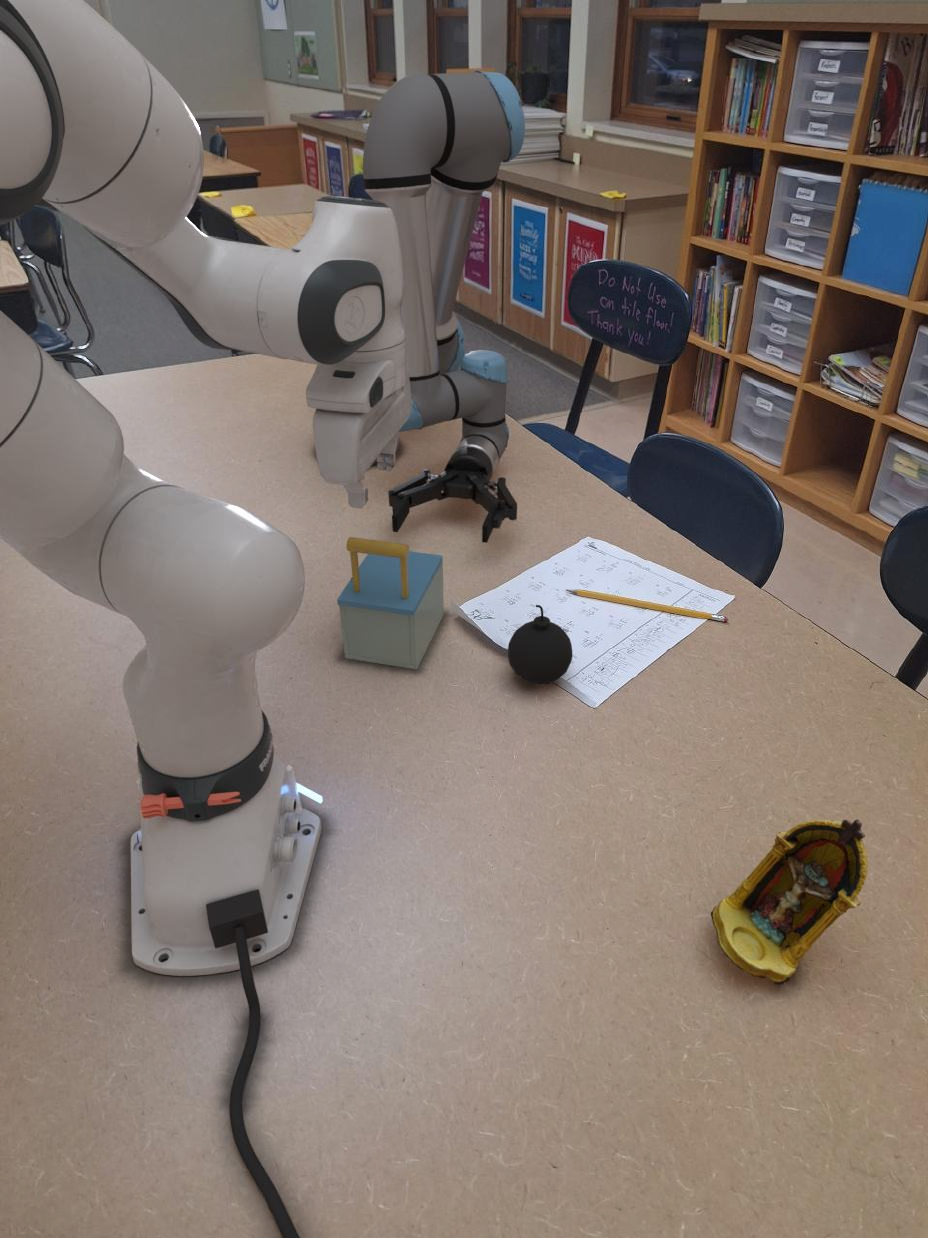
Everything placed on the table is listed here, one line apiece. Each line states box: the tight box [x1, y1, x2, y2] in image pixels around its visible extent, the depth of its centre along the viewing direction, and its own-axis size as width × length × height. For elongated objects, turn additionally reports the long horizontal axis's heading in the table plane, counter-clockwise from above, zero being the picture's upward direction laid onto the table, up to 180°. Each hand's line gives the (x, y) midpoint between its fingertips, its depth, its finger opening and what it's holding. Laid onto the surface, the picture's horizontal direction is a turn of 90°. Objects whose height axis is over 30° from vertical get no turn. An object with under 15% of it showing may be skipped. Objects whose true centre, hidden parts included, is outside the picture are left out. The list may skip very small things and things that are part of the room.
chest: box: [338, 561, 445, 671], centre depth 113 cm, size 13×10×9 cm
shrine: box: [710, 818, 868, 986], centre depth 72 cm, size 12×8×15 cm
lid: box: [336, 536, 444, 616], centre depth 107 cm, size 13×10×8 cm
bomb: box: [507, 604, 573, 686], centre depth 104 cm, size 8×8×12 cm
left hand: (373, 486), depth 98 cm, fingers open, 8 cm apart
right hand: (439, 529), depth 126 cm, fingers open, 13 cm apart
